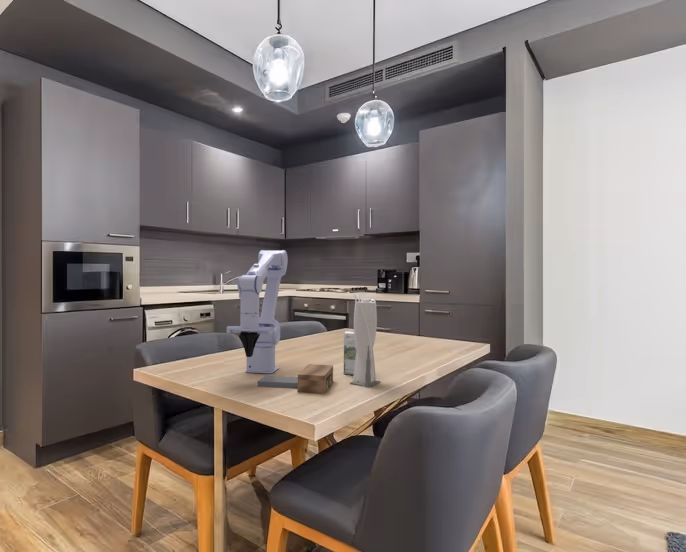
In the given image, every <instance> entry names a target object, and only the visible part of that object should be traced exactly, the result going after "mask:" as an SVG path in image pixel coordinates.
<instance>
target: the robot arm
mask: <svg viewBox="0 0 686 552" xmlns="http://www.w3.org/2000/svg"><path fill="white" fill-rule="evenodd" d="M257 260H258V262H257V263H254V264H253V265H252V266H251V267H250V269H249V270H248V271H247V272H246V274H242V275H241V276H239V277H238V279H237V290H238V298H239V299H240V311H239V312H240V314H239V317H240V320H239V321H240V323H239V325H229V326H226V334H231V333H232V334H234V333H235V334H239V335H238V337H239V340H240V342H241V344H242V346H243V350H244V353H245V357H246V370H245V372H246V373H253V374H273V373H274V372H276V371H277V370H278V369H280V368H279V366H276V346H277V345H278V344H279V343H280V341H281V325H280V322H279V321H278V320H277V319H275V315H276V310H277V309H276V308H277V304H278V303H277V302H278V296H279V290H280V286H281V280H282V277H283V276H286V274H287V273H286V272H287V268H288V261H289V260H288V252H287V251H286V250H284V249H282V250H264V249H261V250H260V251H259V252H258V257H257ZM266 278H267V279H266ZM265 279H266V283H265V285H266V286H265V290H264V296H263V301H262V307H261V311H260V293H262V290H263V286H264V281H265Z"/></svg>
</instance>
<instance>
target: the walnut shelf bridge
mask: <svg viewBox="0 0 686 552" xmlns="http://www.w3.org/2000/svg"><path fill="white" fill-rule="evenodd" d="M297 377H298V388H296V389H297V392H299V393H317V394H325V393H326V391H327V390H328V389H329V386H331V385H332V383H333V381H334V365H332V364H315V363H314V364H312V363H311V364H310V363H309V364H308V365H306V366H305V367H304V368H303V369H302V370H301V371H300V372H299V373H297Z"/></svg>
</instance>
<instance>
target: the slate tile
mask: <svg viewBox="0 0 686 552" xmlns="http://www.w3.org/2000/svg"><path fill="white" fill-rule="evenodd" d="M261 386H265V388H283V389H284V388H285V389H298V376H284V375H282V376H280V375H279V376H278V375H264V376H263V377H261V378H260V379H259V380H258V381H257V387H261Z"/></svg>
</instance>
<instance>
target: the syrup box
mask: <svg viewBox="0 0 686 552" xmlns="http://www.w3.org/2000/svg"><path fill="white" fill-rule="evenodd" d="M356 351H357V349H356V344H355V338H354V330H346V331H345V332H344V333H343V375H349V376H354V367H355V358H356Z"/></svg>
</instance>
